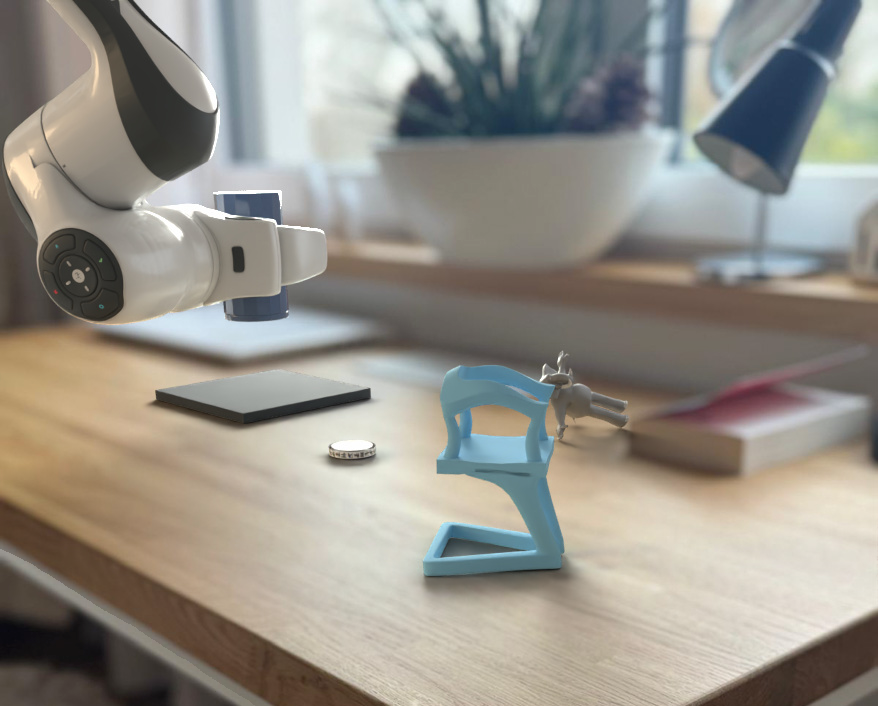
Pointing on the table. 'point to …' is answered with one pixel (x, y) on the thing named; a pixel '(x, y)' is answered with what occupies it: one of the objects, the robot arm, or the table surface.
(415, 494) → the table surface
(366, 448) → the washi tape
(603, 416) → the grey figurine
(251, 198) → the cup
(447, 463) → the chair
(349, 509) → the table surface
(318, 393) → the mat
